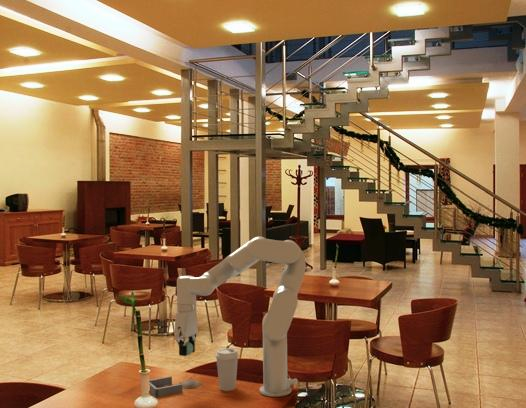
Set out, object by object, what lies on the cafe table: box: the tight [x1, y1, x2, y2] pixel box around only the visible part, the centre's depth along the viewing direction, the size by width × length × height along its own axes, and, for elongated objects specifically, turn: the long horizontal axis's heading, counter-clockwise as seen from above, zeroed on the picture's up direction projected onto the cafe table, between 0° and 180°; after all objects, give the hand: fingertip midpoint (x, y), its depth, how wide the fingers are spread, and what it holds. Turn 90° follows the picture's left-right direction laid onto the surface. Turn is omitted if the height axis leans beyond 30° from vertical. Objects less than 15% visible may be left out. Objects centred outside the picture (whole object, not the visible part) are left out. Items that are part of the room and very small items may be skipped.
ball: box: [186, 341, 194, 356], centre depth 213 cm, size 5×5×5 cm
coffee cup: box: [214, 347, 240, 392], centre depth 218 cm, size 10×10×15 cm
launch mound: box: [179, 378, 203, 390], centre depth 223 cm, size 14×14×14 cm
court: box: [148, 375, 183, 398], centre depth 217 cm, size 11×12×3 cm
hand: (187, 353), depth 213 cm, fingers closed on ball, 4 cm apart
